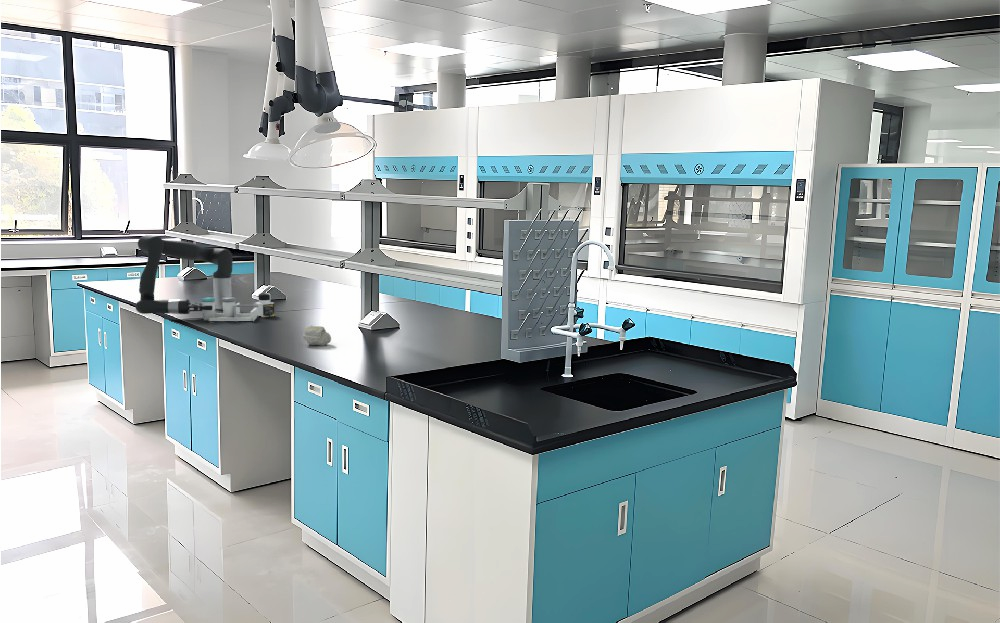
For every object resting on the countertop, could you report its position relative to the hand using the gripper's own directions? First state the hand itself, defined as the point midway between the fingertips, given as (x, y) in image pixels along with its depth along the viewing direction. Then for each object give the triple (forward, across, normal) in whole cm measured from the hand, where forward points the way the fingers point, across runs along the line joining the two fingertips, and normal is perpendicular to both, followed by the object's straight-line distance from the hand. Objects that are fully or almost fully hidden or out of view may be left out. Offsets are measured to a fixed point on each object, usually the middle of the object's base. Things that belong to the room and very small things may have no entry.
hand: (213, 306), depth 388 cm
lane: (+10, 0, +6) cm, 12 cm away
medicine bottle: (+24, +11, +7) cm, 27 cm away
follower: (+16, 0, +6) cm, 18 cm away
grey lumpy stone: (+56, -63, +7) cm, 85 cm away
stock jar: (+8, 0, +6) cm, 10 cm away
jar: (-2, 0, +6) cm, 7 cm away
